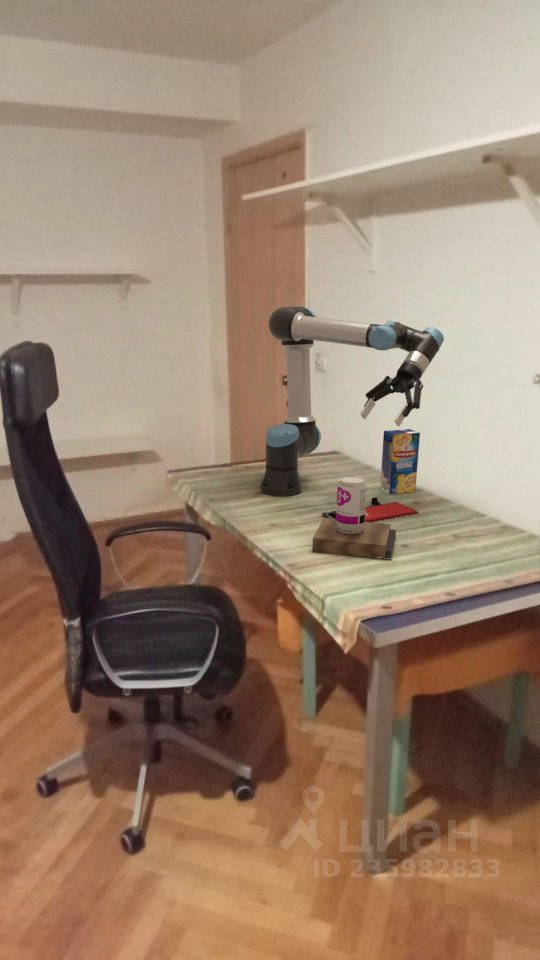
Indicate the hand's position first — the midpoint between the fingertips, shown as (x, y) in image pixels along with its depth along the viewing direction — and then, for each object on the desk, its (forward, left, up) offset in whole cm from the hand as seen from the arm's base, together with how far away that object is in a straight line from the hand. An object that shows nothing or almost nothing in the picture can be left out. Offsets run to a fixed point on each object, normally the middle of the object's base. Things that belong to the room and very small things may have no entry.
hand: (379, 420), depth 210 cm
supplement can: (-4, -29, -27) cm, 40 cm away
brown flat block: (-3, -29, -31) cm, 43 cm away
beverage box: (+6, +31, -31) cm, 45 cm away
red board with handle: (-2, +1, -32) cm, 32 cm away
